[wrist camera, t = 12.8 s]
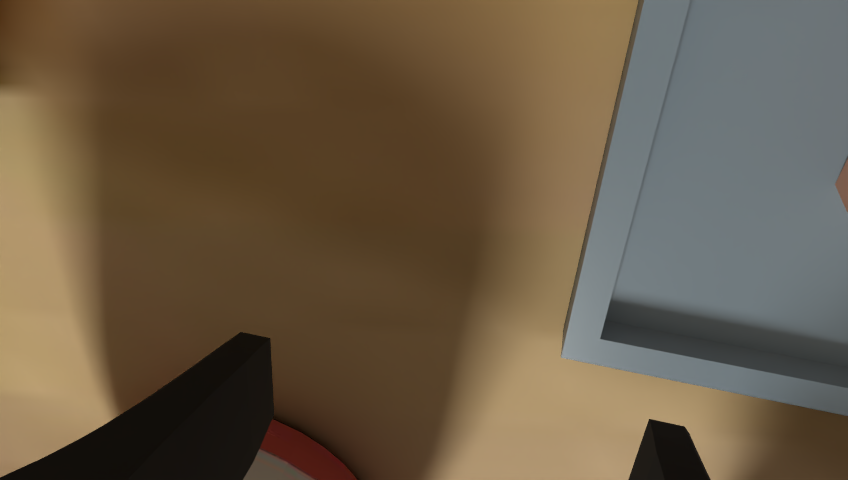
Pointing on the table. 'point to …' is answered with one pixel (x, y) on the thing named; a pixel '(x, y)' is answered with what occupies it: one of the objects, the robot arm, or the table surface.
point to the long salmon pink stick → (843, 185)
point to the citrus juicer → (294, 458)
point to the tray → (724, 204)
